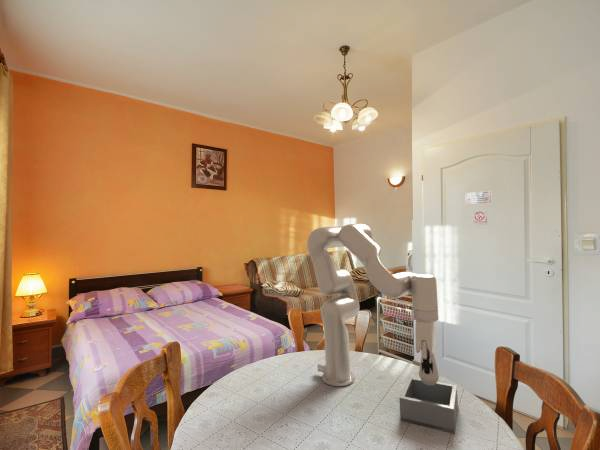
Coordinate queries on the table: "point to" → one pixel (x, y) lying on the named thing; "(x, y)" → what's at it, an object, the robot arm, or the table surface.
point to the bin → (429, 405)
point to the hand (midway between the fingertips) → (428, 372)
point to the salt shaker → (432, 377)
